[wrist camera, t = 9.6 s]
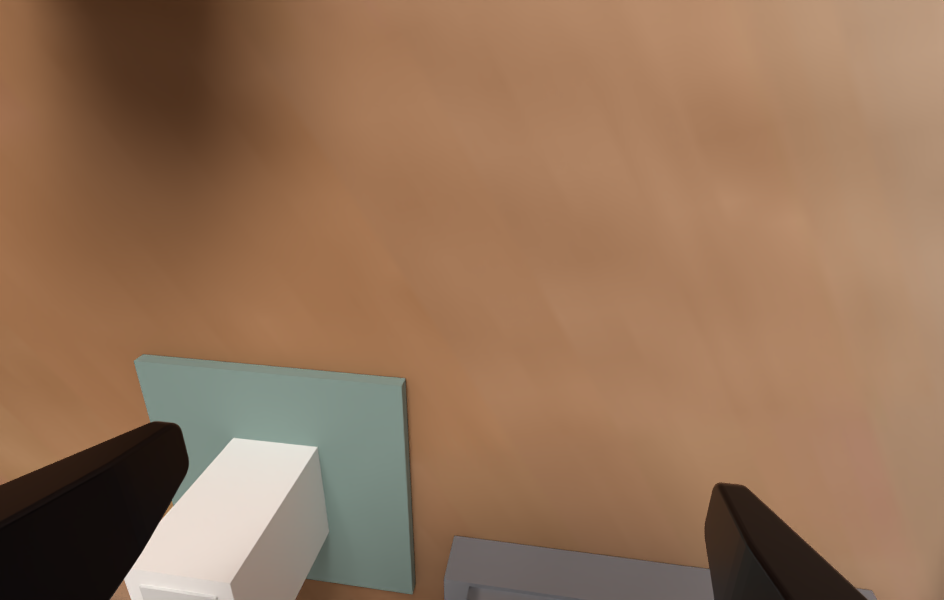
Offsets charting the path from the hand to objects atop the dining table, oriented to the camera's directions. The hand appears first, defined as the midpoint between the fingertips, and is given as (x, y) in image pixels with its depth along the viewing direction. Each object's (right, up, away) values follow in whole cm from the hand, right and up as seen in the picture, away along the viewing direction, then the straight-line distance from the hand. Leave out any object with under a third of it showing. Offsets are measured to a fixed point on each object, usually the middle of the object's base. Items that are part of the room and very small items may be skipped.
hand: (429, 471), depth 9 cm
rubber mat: (-8, -5, +17) cm, 20 cm away
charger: (-8, -6, +17) cm, 19 cm away
